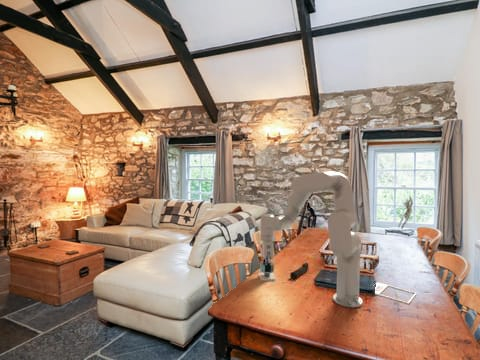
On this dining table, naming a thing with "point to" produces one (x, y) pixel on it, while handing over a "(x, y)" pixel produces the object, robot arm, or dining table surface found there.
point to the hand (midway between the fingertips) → (267, 269)
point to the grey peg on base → (267, 276)
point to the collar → (262, 267)
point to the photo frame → (382, 287)
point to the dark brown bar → (299, 271)
